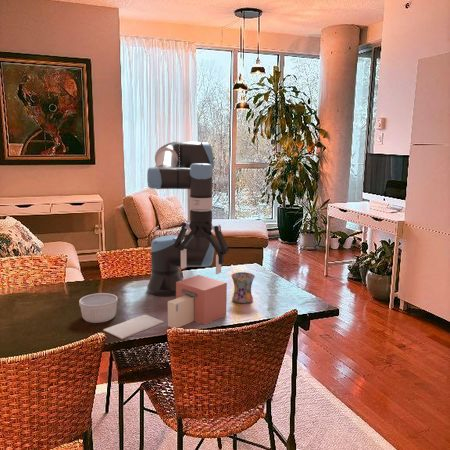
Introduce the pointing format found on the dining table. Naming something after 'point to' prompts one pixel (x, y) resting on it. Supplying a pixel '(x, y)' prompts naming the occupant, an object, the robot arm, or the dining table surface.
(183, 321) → the cream white block
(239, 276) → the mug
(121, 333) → the mat
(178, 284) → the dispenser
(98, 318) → the ramekin
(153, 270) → the robot arm
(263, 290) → the dining table surface
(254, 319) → the dining table surface
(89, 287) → the dining table surface
